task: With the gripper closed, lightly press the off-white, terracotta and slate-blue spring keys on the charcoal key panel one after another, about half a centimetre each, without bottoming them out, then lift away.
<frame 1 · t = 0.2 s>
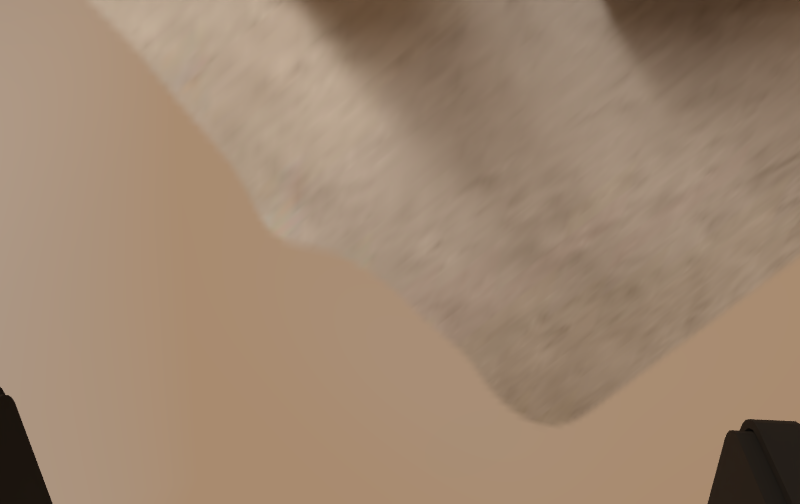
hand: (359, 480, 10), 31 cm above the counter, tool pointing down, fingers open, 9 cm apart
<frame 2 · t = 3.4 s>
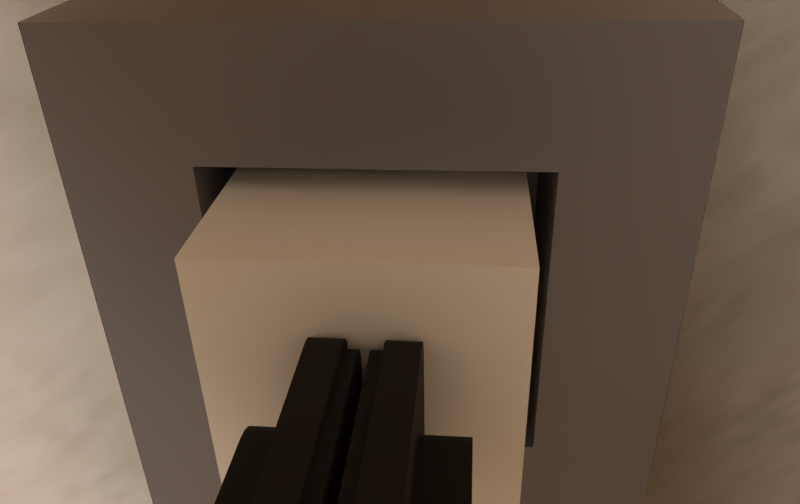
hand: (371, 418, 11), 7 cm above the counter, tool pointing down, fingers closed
key panel: (410, 446, 21), on the counter
off-white key: (376, 331, 12), point 5 cm above the counter, slide at 0.4 cm, touching gripper
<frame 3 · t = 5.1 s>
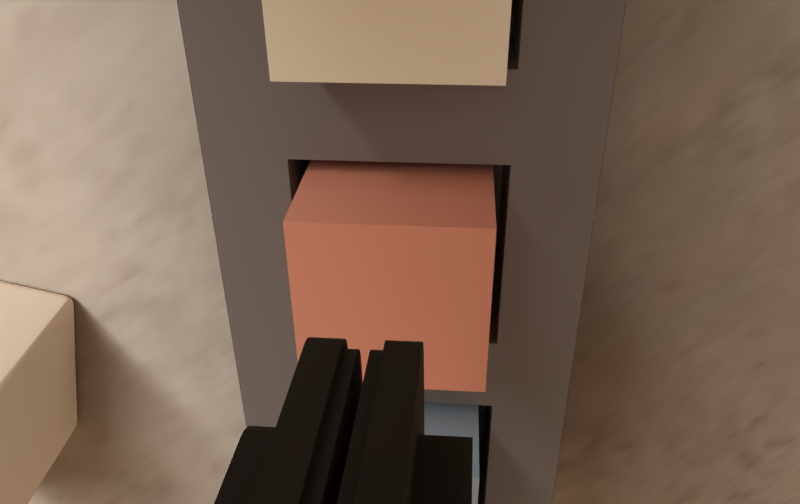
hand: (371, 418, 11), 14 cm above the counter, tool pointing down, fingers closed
key panel: (411, 176, 24), on the counter
terracotta key: (396, 272, 19), point 6 cm above the counter, slide at 0.0 cm
slate-blue key: (399, 483, 23), point 6 cm above the counter, slide at 0.0 cm
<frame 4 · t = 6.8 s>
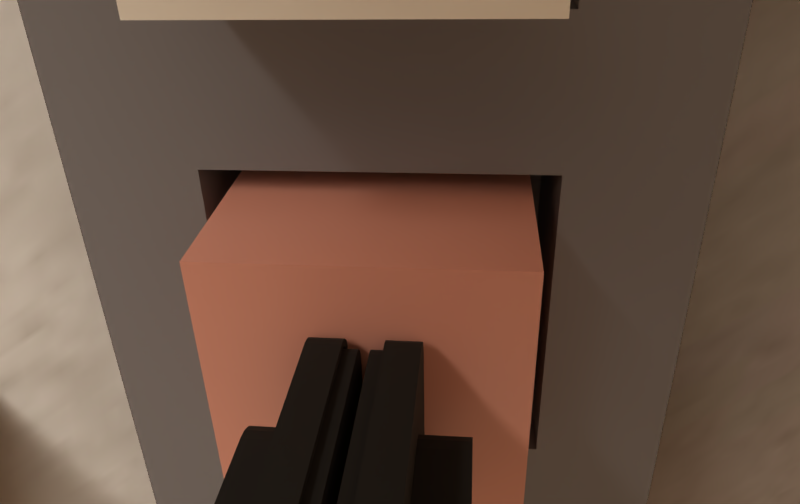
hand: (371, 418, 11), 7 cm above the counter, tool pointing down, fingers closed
key panel: (407, 195, 17), on the counter
terracotta key: (380, 334, 12), point 5 cm above the counter, slide at 0.4 cm, touching gripper
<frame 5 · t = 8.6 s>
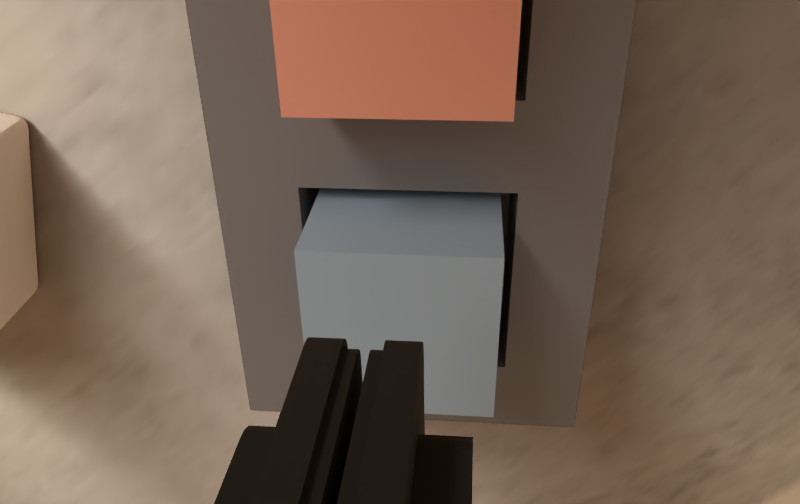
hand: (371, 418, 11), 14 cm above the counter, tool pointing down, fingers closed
slate-blue key: (405, 298, 19), point 6 cm above the counter, slide at 0.0 cm
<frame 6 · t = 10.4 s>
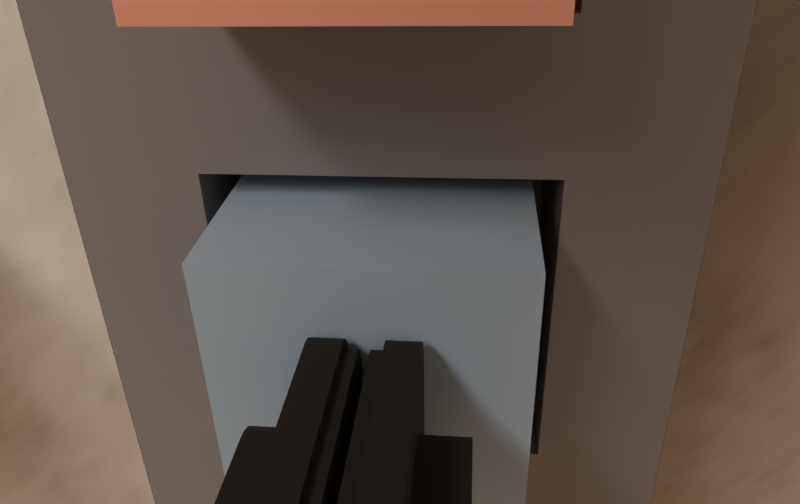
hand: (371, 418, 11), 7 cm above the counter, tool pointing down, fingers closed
slate-blue key: (381, 336, 12), point 5 cm above the counter, slide at 0.5 cm, touching gripper
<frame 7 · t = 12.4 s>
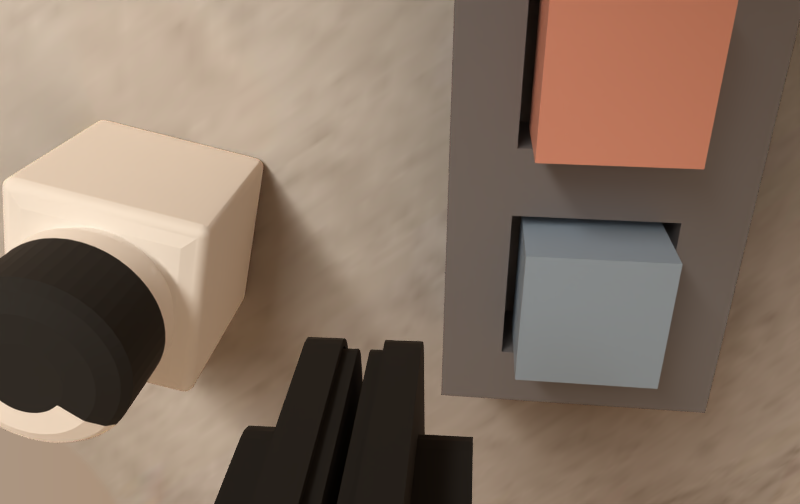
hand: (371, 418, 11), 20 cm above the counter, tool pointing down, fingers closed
key panel: (595, 33, 27), on the counter
terracotta key: (620, 69, 22), point 6 cm above the counter, slide at 0.1 cm
medicine bottle: (178, 210, 32), on the counter
slate-blue key: (587, 297, 26), point 5 cm above the counter, slide at 0.3 cm
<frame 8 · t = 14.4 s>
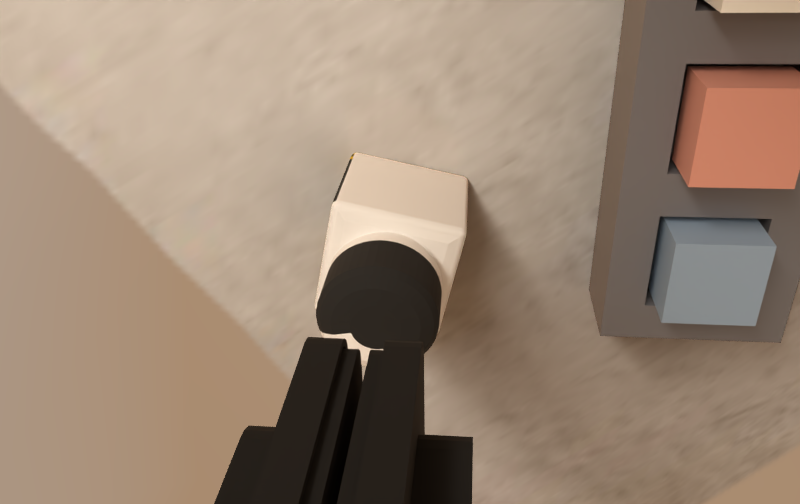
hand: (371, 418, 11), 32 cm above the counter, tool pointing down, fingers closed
key panel: (708, 90, 40), on the counter
terracotta key: (740, 126, 35), point 6 cm above the counter, slide at 0.1 cm
medicine bottle: (400, 212, 45), on the counter
slate-blue key: (707, 268, 39), point 5 cm above the counter, slide at 0.3 cm
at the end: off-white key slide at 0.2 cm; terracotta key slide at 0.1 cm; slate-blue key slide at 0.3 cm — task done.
